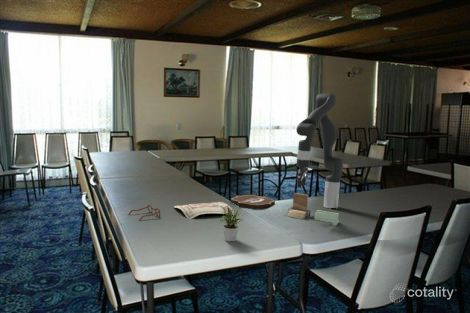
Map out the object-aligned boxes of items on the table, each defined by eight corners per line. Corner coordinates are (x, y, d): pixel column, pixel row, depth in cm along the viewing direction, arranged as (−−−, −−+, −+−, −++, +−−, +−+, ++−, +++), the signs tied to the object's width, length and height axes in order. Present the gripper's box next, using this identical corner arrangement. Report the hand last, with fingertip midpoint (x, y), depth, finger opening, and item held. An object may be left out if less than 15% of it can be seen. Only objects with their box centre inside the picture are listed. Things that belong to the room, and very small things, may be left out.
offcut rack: (289, 213, 225) (289, 206, 224) (312, 217, 218) (312, 210, 218) (282, 218, 214) (283, 210, 213) (306, 222, 208) (307, 214, 207)
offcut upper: (290, 211, 217) (290, 209, 217) (306, 214, 214) (306, 211, 214) (288, 213, 213) (288, 211, 213) (304, 216, 209) (304, 213, 209)
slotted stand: (317, 218, 217) (318, 209, 217) (338, 222, 212) (339, 212, 211) (313, 221, 210) (314, 212, 209) (335, 225, 205) (336, 215, 204)
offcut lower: (290, 214, 218) (290, 211, 218) (305, 216, 214) (305, 214, 214) (287, 216, 214) (287, 213, 213) (303, 218, 210) (303, 216, 210)
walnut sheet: (293, 213, 221) (294, 192, 220) (306, 215, 218) (308, 194, 217) (292, 213, 220) (293, 193, 218) (305, 216, 216) (307, 195, 215)
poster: (216, 209, 239) (171, 211, 225) (217, 199, 238) (171, 200, 224) (237, 218, 214) (187, 220, 200) (238, 207, 214) (188, 208, 200)
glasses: (160, 218, 202) (161, 208, 201) (138, 221, 193) (138, 212, 193) (148, 212, 212) (149, 203, 211) (127, 215, 203) (127, 206, 202)
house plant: (205, 239, 170) (207, 204, 169) (223, 232, 182) (225, 199, 180) (231, 247, 162) (233, 210, 161) (248, 239, 174) (250, 204, 172)
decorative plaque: (258, 207, 224) (220, 198, 243) (257, 212, 225) (220, 203, 244) (285, 200, 248) (248, 192, 266) (284, 205, 248) (248, 197, 267)
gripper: (300, 157, 223) (298, 184, 225) (293, 158, 210) (291, 187, 212) (313, 158, 220) (310, 185, 222) (306, 160, 207) (304, 189, 209)
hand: (301, 186), depth 217 cm, fingers open, 8 cm apart
